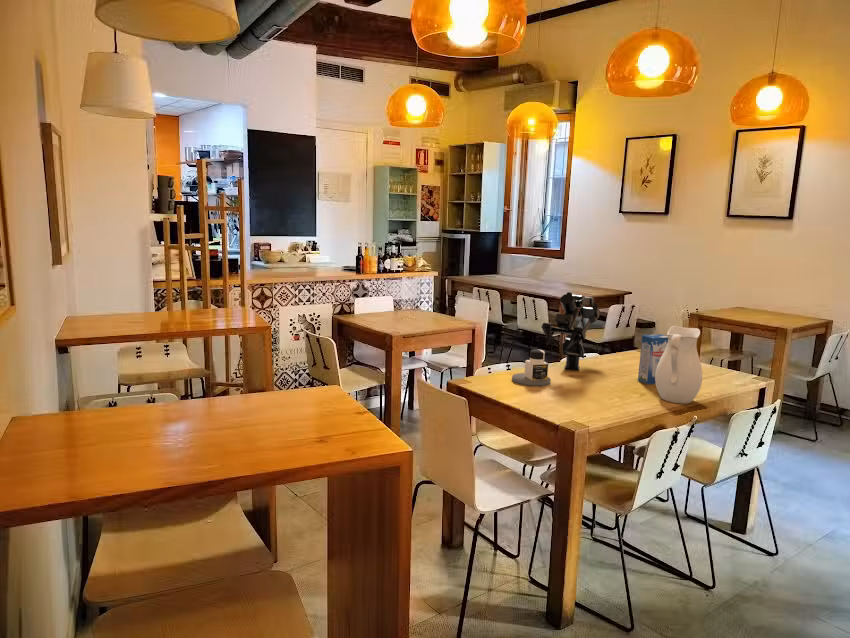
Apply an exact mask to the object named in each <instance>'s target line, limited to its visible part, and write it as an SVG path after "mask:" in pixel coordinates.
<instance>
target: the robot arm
mask: <svg viewBox="0 0 850 638" xmlns="http://www.w3.org/2000/svg"><path fill="white" fill-rule="evenodd" d="M560 303H561V307H562V310H563V313H556V314H555V318H554V322H556V326H554V325H553V323H552V322H542V324H541V328H542V329H541V330H542V331H543V334H545V336H546V339H545V340H546V341H545V342H546V343H545V344H546V346H549V345H550V343H551V341H552V339H553V335H554V333H561V334H567V335H566V337H565V339H564V341H563V342H562V346H561V349H562V355H563V356H566V360H565V365H564V370H569V371H580V366H579V365H580V358H584V356H585V349H584V347H583V346H584V345H583V341H585V339H586V337H587V336H586V333H587V331H588V329H589V328H590V325H592V324H594V323H596V322H597V320H598V319H600V313H601V312H600V307H599V305H598V304H597V303H596V302H595V298H594V297H591V296H584V295H582V294H573V292H569V291H567V292H566V293H565V294H562V296H560ZM579 313H580V315H579ZM579 316H580V320H579V322H578V324H577V326H575V322H576V319H577V318H578V317H579Z"/></svg>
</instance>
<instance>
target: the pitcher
mask: <svg viewBox="0 0 850 638" xmlns="http://www.w3.org/2000/svg"><path fill="white" fill-rule="evenodd" d="M700 335H701V330H700V329H699V328H697V327H683V326H679V325H671V326H670V327H669V329H668V330H667V333H666V336H668V344H667V347H666V349H665V351H664V353H663V355H662V356H661V358H660V360H659V363H658V365H657V368H656V373H655V383H656V384H655V387H656V390H657V392H658V394H659V396H660V398H661V399H662V400H664V401H666V402H670V403H673V404H683V405H684V404H690V403H691V402H693V400H694V399H695V398H696V397H697V396H698V394H699V393H700V390H701V387H702V383H703V368H702V363H701V360H700V357H699V356H700V355H699V353H698V349H697V344H698V343H697V342H698V339H699V338H700Z"/></svg>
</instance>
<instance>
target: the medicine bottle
mask: <svg viewBox="0 0 850 638" xmlns="http://www.w3.org/2000/svg"><path fill="white" fill-rule="evenodd" d="M545 354H546V352H545V350H542V349H537V348H536V349H534V348H533V349H531V350H530V351H529V359H526V360H525V363H524V373H525V374H524V376H525V377H527V378H528V379H530V380H532V381H536V380H547V377H548V376H549V374H548V372H549V363H548V362H546V361H545Z"/></svg>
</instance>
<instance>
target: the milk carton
mask: <svg viewBox="0 0 850 638" xmlns="http://www.w3.org/2000/svg"><path fill="white" fill-rule="evenodd" d="M640 343H641V345H640V354H639V363H638V365H639V366H638V375H637V376H638V377H637V381H638V380H639V381H638V382H640V381H641V383H643V382H644V384H645V383H646V385H656V383H655V373H656V368H657V365H658V363H659V360H660V358H661V356H662V355H663V353H664V351H665V349H666V347H667V344H668V336H667V335H664V334H645V335H644V334H643V335H641V342H640Z"/></svg>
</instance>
